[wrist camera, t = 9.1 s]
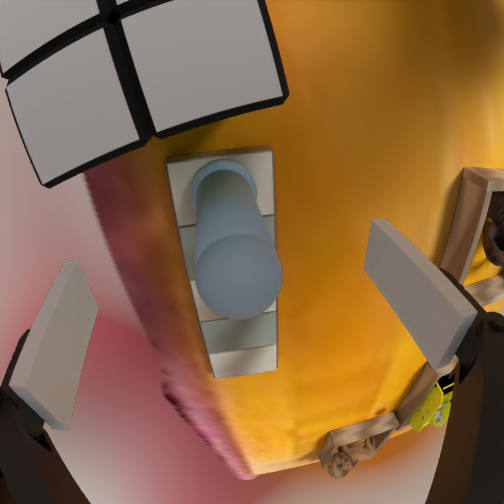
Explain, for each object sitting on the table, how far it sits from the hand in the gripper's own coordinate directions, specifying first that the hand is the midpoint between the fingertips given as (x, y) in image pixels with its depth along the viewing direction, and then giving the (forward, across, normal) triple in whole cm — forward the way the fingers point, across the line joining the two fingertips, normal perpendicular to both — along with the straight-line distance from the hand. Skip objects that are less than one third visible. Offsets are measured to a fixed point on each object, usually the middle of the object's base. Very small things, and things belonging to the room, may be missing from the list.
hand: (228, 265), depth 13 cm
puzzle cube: (+10, -3, +11) cm, 15 cm away
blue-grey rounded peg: (+8, 0, 0) cm, 8 cm away
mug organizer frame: (+9, +31, -8) cm, 34 cm away
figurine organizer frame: (+10, +21, -57) cm, 62 cm away
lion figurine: (+10, +20, -57) cm, 62 cm away
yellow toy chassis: (+10, +34, -42) cm, 54 cm away
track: (+10, 0, -9) cm, 13 cm away
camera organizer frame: (+10, +35, -42) cm, 56 cm away
